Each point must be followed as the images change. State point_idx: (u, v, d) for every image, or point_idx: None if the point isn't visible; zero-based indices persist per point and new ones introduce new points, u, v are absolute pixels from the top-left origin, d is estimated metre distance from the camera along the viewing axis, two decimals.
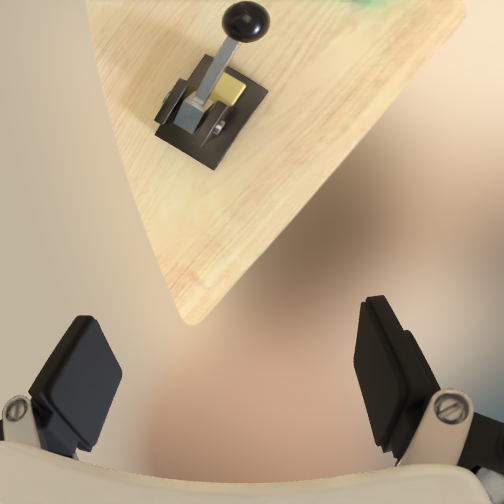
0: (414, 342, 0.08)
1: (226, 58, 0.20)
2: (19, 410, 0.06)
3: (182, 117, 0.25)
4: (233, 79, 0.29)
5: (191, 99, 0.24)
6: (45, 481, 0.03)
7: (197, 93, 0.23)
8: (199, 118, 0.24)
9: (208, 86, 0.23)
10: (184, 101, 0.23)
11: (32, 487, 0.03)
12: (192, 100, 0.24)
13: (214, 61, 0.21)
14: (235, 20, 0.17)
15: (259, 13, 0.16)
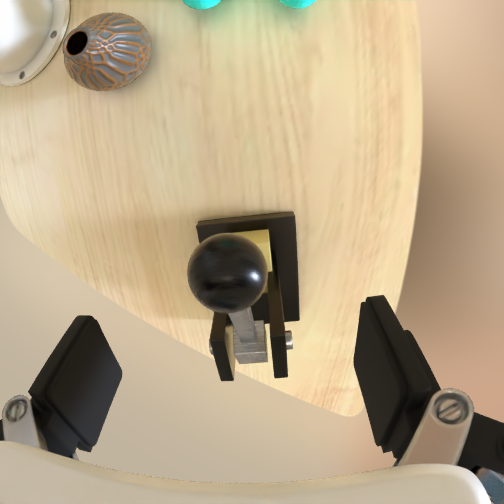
0: (414, 342, 0.08)
1: (244, 313, 0.16)
2: (19, 410, 0.06)
3: (245, 360, 0.21)
4: None
5: (240, 344, 0.20)
6: (45, 481, 0.03)
7: (241, 340, 0.20)
8: (264, 355, 0.21)
9: (248, 333, 0.19)
10: (235, 354, 0.20)
11: (32, 487, 0.03)
12: (242, 345, 0.20)
13: (233, 320, 0.17)
14: (218, 307, 0.13)
15: (238, 273, 0.12)
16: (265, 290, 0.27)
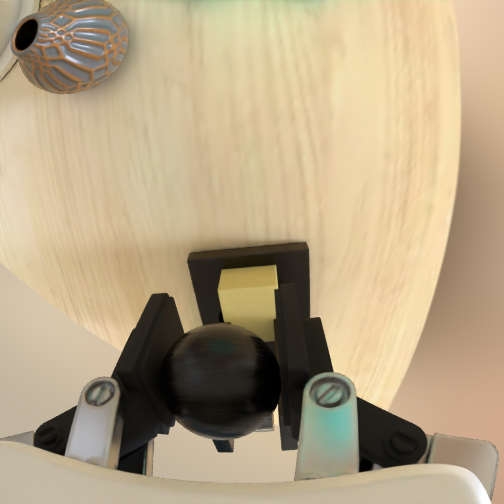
0: (320, 328, 0.09)
1: None
2: (103, 393, 0.07)
3: None
4: (256, 289, 0.20)
5: None
6: (45, 481, 0.03)
7: None
8: (270, 430, 0.15)
9: None
10: None
11: (32, 487, 0.03)
12: None
13: None
14: None
15: (237, 406, 0.07)
16: (271, 338, 0.22)
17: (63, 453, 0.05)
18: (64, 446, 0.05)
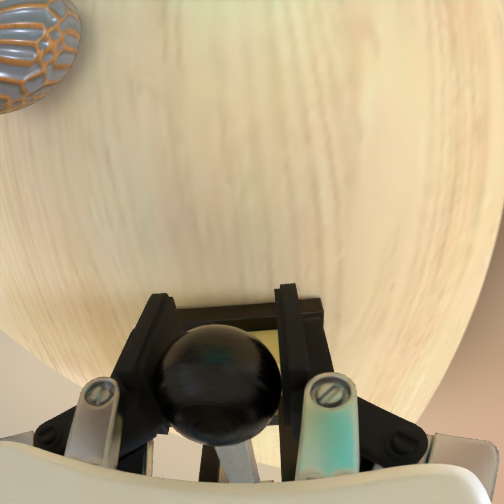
0: (321, 328, 0.09)
1: (244, 459, 0.09)
2: (102, 393, 0.07)
3: None
4: None
5: None
6: (45, 481, 0.03)
7: None
8: None
9: None
10: None
11: (32, 487, 0.03)
12: None
13: (226, 470, 0.09)
14: (194, 429, 0.06)
15: (232, 372, 0.07)
16: None
17: (63, 453, 0.05)
18: (64, 446, 0.05)
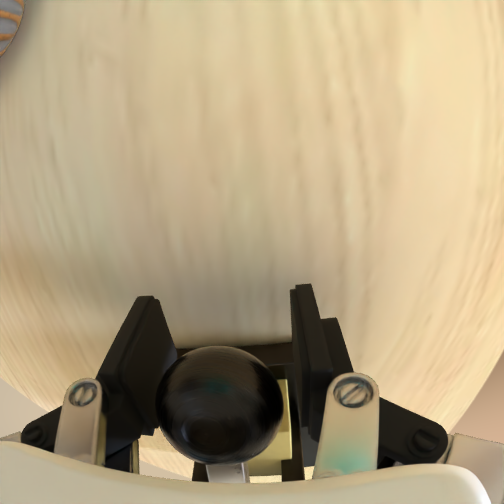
0: (338, 328, 0.09)
1: None
2: (86, 394, 0.07)
3: None
4: None
5: None
6: (45, 481, 0.03)
7: None
8: None
9: None
10: None
11: (32, 487, 0.03)
12: None
13: None
14: (190, 427, 0.06)
15: (234, 370, 0.07)
16: (277, 473, 0.12)
17: (49, 450, 0.05)
18: (50, 443, 0.05)
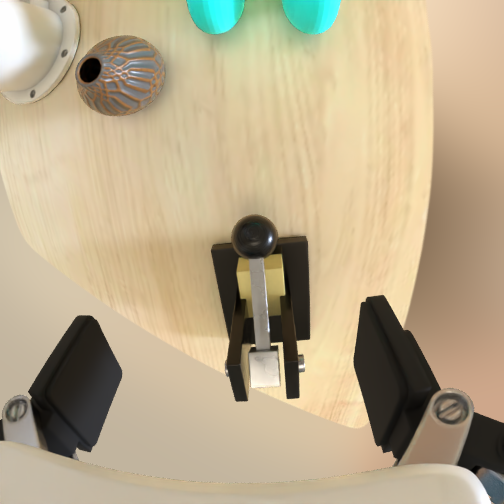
0: (414, 342, 0.08)
1: (262, 281, 0.23)
2: (19, 410, 0.06)
3: (257, 374, 0.21)
4: (266, 271, 0.26)
5: (254, 350, 0.22)
6: (45, 481, 0.03)
7: (257, 339, 0.22)
8: (276, 362, 0.21)
9: (263, 323, 0.22)
10: (249, 354, 0.22)
11: (32, 487, 0.03)
12: (256, 350, 0.22)
13: (253, 293, 0.23)
14: (247, 232, 0.22)
15: (261, 217, 0.23)
16: (278, 313, 0.28)
17: None
18: None
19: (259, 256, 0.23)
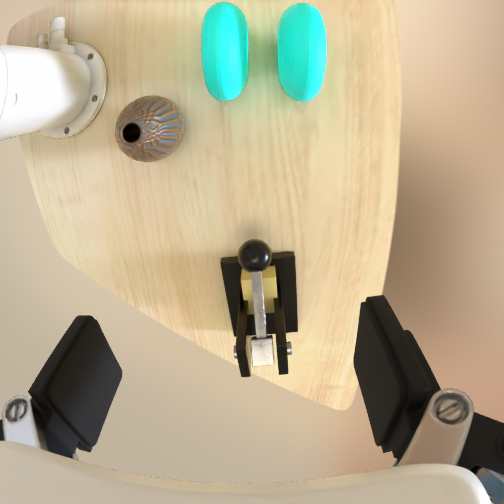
0: (414, 342, 0.08)
1: (260, 288, 0.31)
2: (19, 410, 0.06)
3: (257, 355, 0.30)
4: (263, 280, 0.35)
5: (255, 338, 0.31)
6: (45, 481, 0.03)
7: (257, 330, 0.31)
8: (271, 346, 0.30)
9: (261, 319, 0.31)
10: (251, 341, 0.30)
11: (32, 487, 0.03)
12: (256, 338, 0.31)
13: (254, 296, 0.31)
14: (250, 253, 0.31)
15: (259, 241, 0.32)
16: (272, 311, 0.37)
17: None
18: None
19: (258, 270, 0.31)
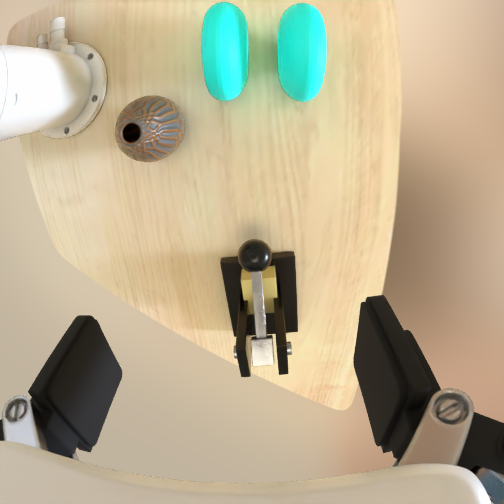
0: (414, 342, 0.08)
1: (260, 288, 0.31)
2: (19, 410, 0.06)
3: (257, 355, 0.30)
4: (263, 280, 0.35)
5: (255, 338, 0.31)
6: (45, 481, 0.03)
7: (257, 330, 0.31)
8: (271, 346, 0.30)
9: (261, 319, 0.31)
10: (251, 341, 0.30)
11: (32, 487, 0.03)
12: (256, 338, 0.31)
13: (254, 296, 0.31)
14: (250, 253, 0.31)
15: (259, 241, 0.32)
16: (272, 311, 0.37)
17: None
18: None
19: (258, 270, 0.31)
